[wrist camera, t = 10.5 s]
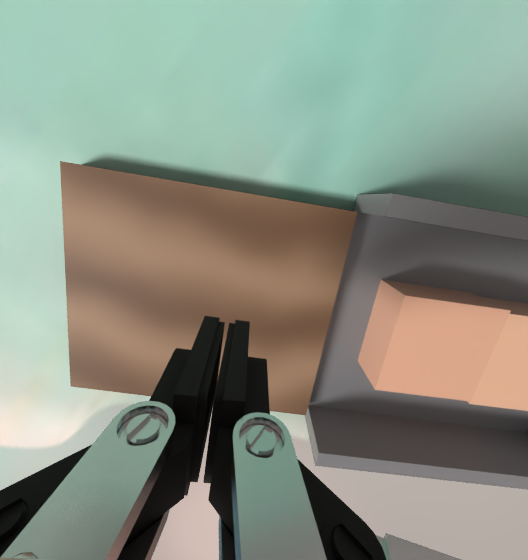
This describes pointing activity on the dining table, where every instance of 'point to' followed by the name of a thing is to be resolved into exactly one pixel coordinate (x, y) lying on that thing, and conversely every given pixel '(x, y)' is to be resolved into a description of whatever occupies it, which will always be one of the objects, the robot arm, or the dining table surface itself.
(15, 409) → the dining table surface
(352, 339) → the tray
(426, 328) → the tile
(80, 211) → the board
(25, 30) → the dining table surface
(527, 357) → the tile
